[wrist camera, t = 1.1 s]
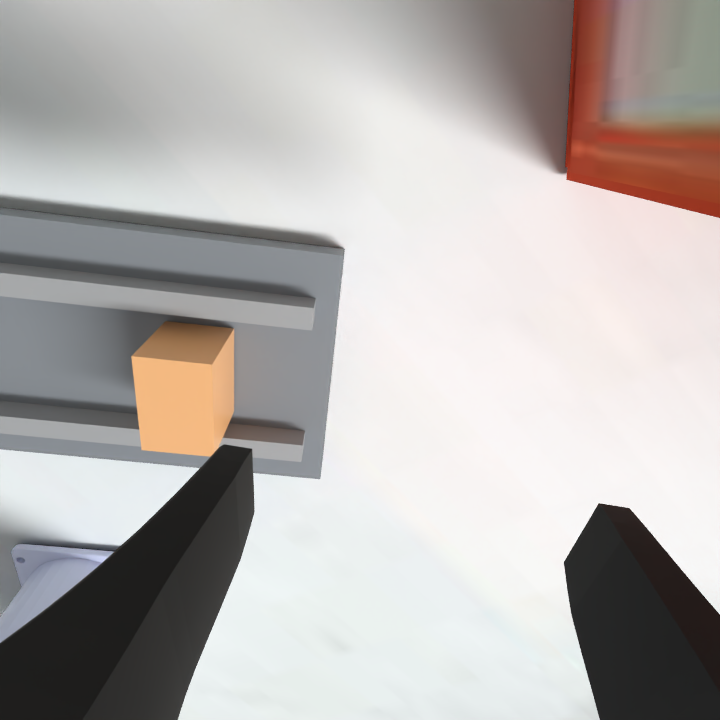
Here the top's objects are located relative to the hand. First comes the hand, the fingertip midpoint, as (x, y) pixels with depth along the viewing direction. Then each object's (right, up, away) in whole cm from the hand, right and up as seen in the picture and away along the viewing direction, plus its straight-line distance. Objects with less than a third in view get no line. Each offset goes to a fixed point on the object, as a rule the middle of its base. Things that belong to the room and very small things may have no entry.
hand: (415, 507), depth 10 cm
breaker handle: (-8, +3, +12) cm, 15 cm away
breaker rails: (-14, +4, +13) cm, 20 cm away
